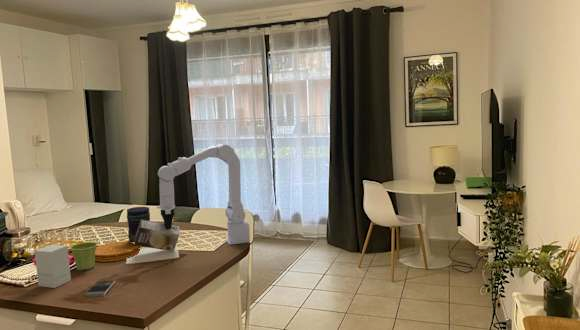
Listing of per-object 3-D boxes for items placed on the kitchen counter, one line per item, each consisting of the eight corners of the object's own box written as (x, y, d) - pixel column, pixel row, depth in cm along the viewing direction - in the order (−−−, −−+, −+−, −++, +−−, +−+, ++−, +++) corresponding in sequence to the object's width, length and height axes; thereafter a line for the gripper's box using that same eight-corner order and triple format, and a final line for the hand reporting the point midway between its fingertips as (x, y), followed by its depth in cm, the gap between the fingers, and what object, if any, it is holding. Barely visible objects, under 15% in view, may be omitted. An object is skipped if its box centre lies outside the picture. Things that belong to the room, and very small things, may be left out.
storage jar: (143, 236, 203) (140, 205, 201) (156, 240, 197) (154, 208, 196) (124, 242, 195) (121, 210, 193) (137, 245, 189) (134, 212, 188)
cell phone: (116, 283, 148) (116, 279, 147) (104, 297, 137) (104, 293, 136) (97, 284, 147) (97, 280, 147) (84, 298, 136) (84, 294, 136)
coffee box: (173, 252, 179) (133, 246, 173) (173, 243, 184) (134, 237, 178) (179, 234, 175) (139, 227, 170) (179, 225, 181) (140, 218, 175)
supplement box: (71, 280, 151) (68, 245, 149) (54, 288, 144) (50, 252, 142) (55, 278, 153) (52, 243, 152) (37, 286, 146) (33, 250, 145)
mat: (176, 245, 189) (176, 244, 189) (179, 257, 172) (179, 257, 172) (128, 250, 183) (128, 249, 183) (126, 264, 166) (125, 263, 166)
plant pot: (65, 270, 160) (63, 248, 159) (85, 262, 169) (83, 241, 168) (85, 273, 157) (83, 250, 156) (104, 264, 166) (102, 242, 165)
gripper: (156, 192, 182) (157, 224, 184) (157, 198, 168) (158, 232, 170) (173, 192, 184) (174, 223, 186) (175, 197, 170) (176, 231, 172)
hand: (168, 227), depth 178 cm, fingers closed on coffee box, 4 cm apart
